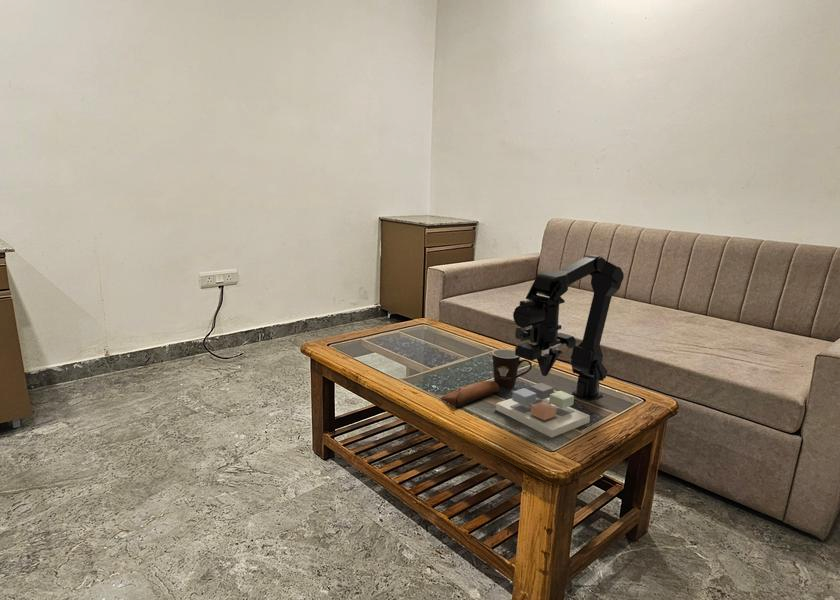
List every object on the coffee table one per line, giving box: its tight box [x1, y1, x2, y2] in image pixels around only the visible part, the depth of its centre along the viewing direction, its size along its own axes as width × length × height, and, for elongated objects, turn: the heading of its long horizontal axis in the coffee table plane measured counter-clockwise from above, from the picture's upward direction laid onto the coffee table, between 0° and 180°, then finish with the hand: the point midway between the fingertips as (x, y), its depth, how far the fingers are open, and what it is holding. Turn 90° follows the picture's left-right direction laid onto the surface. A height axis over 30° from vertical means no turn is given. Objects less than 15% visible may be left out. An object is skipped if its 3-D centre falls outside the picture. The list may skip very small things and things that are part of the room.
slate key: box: [511, 387, 536, 406], centre depth 150 cm, size 4×4×2 cm
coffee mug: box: [491, 348, 533, 389], centre depth 171 cm, size 12×9×10 cm
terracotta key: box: [531, 402, 556, 420], centre depth 145 cm, size 4×4×2 cm
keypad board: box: [495, 397, 591, 439], centre depth 151 cm, size 15×20×2 cm
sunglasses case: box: [440, 380, 500, 408], centre depth 163 cm, size 18×7×7 cm, turn 132°
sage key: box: [549, 390, 575, 409], centre depth 149 cm, size 4×4×2 cm
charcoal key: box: [529, 382, 554, 400], centre depth 154 cm, size 4×4×2 cm
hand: (544, 375), depth 151 cm, fingers closed
